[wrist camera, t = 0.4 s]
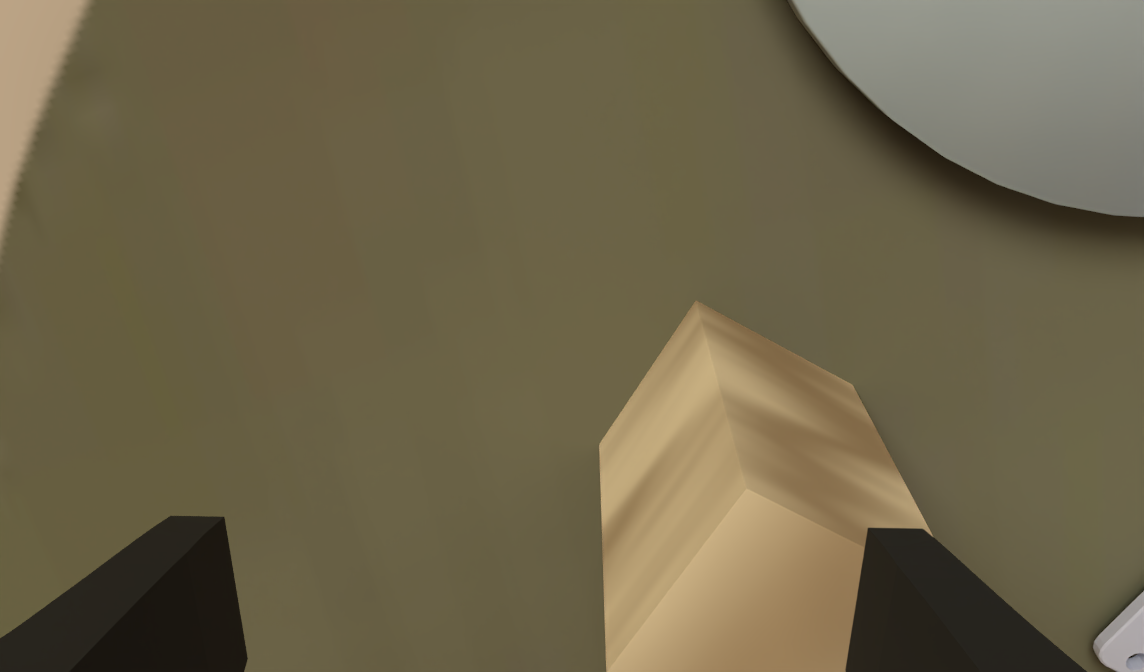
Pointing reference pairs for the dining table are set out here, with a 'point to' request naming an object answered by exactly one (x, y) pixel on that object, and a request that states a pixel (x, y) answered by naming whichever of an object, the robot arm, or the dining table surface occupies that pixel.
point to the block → (739, 508)
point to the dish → (1005, 87)
